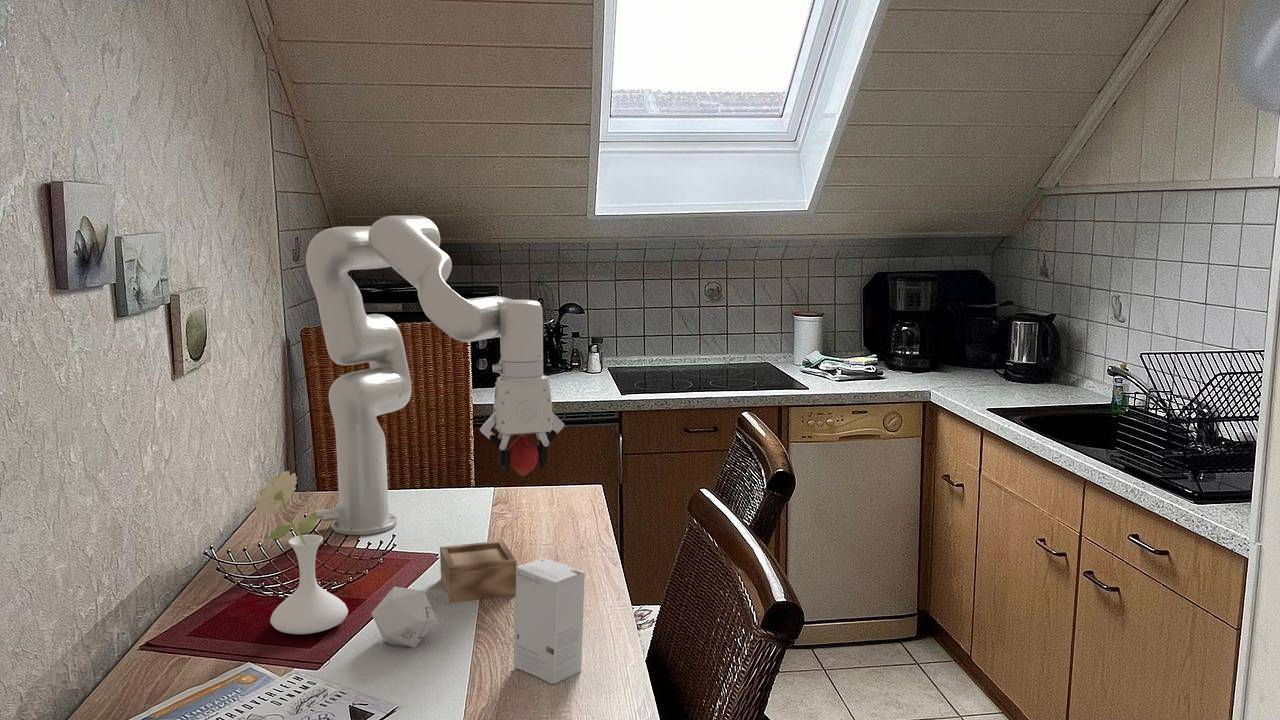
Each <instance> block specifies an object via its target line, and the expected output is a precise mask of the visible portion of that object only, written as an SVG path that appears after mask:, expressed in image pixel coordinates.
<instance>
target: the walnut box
mask: <svg viewBox="0 0 1280 720" xmlns="http://www.w3.org/2000/svg"><path fill="white" fill-rule="evenodd" d="M439 555H440V556H439V557H440V559H439V560H440V580H441V583H442V586H443V587H444V588H443V589H444V591H445V593H446V595H447V598H448V600H449V603H450V604H451V603H458V602H465V601H466V602H467V601H474V600H484V599H489V598H490V599H491V598H499V597H506V596H514V595H515V596H516V567H517V560H516V558H515V556H514V555H513V554H512V552H511V550H510V549H509V547H508V545H507V544H506V542H505V541H504V540H502V539H501V540H494V541H493V540H492V541H483V542H474V543H467V544H466V543H465V544H457V545H448V546H447V545H445V546H439Z"/></svg>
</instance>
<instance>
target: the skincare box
mask: <svg viewBox="0 0 1280 720" xmlns="http://www.w3.org/2000/svg"><path fill="white" fill-rule="evenodd" d="M585 575H586V573H585V572H584V571H581V570H578V569H576V568H574V567H571V566H568V565H567V564H565V563H562V562H557V561H555V560H552V559H548V558H546V557H542V558H539V559H535V560H532V561H531V562H527V563H524V564H521V565H516V594H515V604H514V605H515V606H514V610H515V611H514V637H513V640H514V641H513V667H514V668H515V669H518V671H519V670H520V671H522V672H525V673H527V674H530V675H532V676H534V677H537V678H539V679H541V680H543V681H545V682H546V683H548V684H550V685H555V684H558V683H559V682H562V681H563V680H566V679H569V678H570V677H572V676H574V675H576V674H578V673H580V672H582V656H583V654H582V653H583V630H584V629H583V627H584V625H583V624H584V623H583V622H584V599H585V597H584V596H585V595H584V594H585Z"/></svg>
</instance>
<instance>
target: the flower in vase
mask: <svg viewBox="0 0 1280 720" xmlns="http://www.w3.org/2000/svg"><path fill="white" fill-rule="evenodd" d="M296 475H297V474H296V472H294V473H292V474H290V471H289V470H287V471H282V472H281V473H280V475H279V474H274V475H273V476H272V478H271V479H270V480H269V481H267V484H266V485H265V487H263V488H260V489H259V491H258V494H259V495H260V496H258V497H257V498H255V500H254V503H253V505H252V507H253V508H256V509H255V510H254V514H258V515H259V516H260V515H263V516H267V515H268V514H273V513H275V511H278V510H279V509H280V508H281V507H282V505H283V507H284V509H285V511H286V513H287V516H288V519H289V522H290V524H291V525H290V524H282V525H279V526H278V527H276V528H275V529H274V530H273V531H272V532H271V533H270V535H269V536H268V537H267V541H269V540H279V539H282V538H285V537H286V535H288V534H289V532H290V531H291V530H292V528H293V529H294V531H295V533H296V534H297V536H293V537H292V538H290V539H288V544H289V545H290V546H291V548H292V549H293V550H294V552H295V554H296V557H297V562H298V567H299V569H298V570H299V583H298V586H297V588H296V590H295V591H294V592H292V593H291V594H290V595H288V596H287V598H284V600H283V601H282V602H281V603H280V604H279V605H277V607H276V608H275V609H274V610H273V611H272V613H271V617H270V618H269V619H270V620H269V621H270V624H271V626H272V627H273V628H274V629H275V630H277V631H279V632H281V633H286V634H291V635H310V634H315V633H316V634H317V633H321V632H323V631H324V632H325V631H327V630H330V629H332V628H335V627H336V626H338V625H339V624H341V623H342V622H343V621H345V619H346V617H347V616H348V614H349V609H348V607H347V605H346V603H345V602H343V600H342V599H340V598H339V597H338V596H336V595H334V594H332V593H331V592H329V591H327V590H325V589H324V588H322V587H321V586H320V585H319V584H318V582H317V577H316V556H317V552H318V549H319V547H320V545H321V543H322V542H323V540H324V537H323V536H321V535H318V534H305V533H308V532H310V531H312V530H313V529H315V528H316V526H317V521H318V520H317V515H316V511H315V512H313V513H311V514H310V515H308V516H307V517H305V518H303V519H302V520H300V521H299V522H298V524H297V525H298V526H297V527H298V528H297V527H296V526H295V524H294V522H293V519H292V516H291V513H290V510H289V508H288V506H287V502H288V501H289V499H290V498H291V497H292V495H293V493H294V492H295V491H296V489H297V487H295V486H296V485H297V483H298V482H297V479H298V478H297V476H296ZM302 534H303V535H302Z"/></svg>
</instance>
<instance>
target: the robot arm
mask: <svg viewBox="0 0 1280 720" xmlns="http://www.w3.org/2000/svg"><path fill="white" fill-rule="evenodd" d="M440 246H441V235H440V231H439V228H438V227H437V225H436V224H435V223H434V222H433V221H432V220H430V219H429V218H428V217H426V216H423V215H422V216H421V215H388V216H383V217H382V218H379V219H378V220H376V221H375V222H374V223H373V224H372V225H368V226H365V225H362V226H361V225H359V226H358V225H357V226H356V225H355V226H352V225H351V226H349V225H347V226H346V225H345V226H344V225H343V226H336V227H330V228H326V229H324V230H321V231H319V232H318V233H317V234H316V235H315V236H314V237H312V239H310V242H309V244H308V247H307V251H306V255H305V256H306V257H305V265H306V272H307V276H308V277H309V282H310V283H311V287H312V289H313V292H314V295H315V298H316V301H317V302H316V303H317V306H318V311H319V312H318V313H319V316H320V322H321V328H322V331H323V336H324V341H325V346H326V350H327V353H328V355H329V358H330V359H331V361H332V362H334V363H335V364H336V365H338V366H339V365H340V366H353V365H359V364H365V363H368V365H369V368H366V369H361V370H356V371H352V372H351V371H350V372H347V373H345V374H343V375H341V376H339V377H338V378H336V379H335V380H334V381H333V382H332V384H331V385H330V388H329V391H328V401H329V402H328V403H329V407H330V413H331V415H332V420H333V423H334V424H333V425H334V432H335V445H336V447H335V448H336V460H337V461H336V462H337V465H336V467H337V484H338V485H337V486H338V502H337V503H336V504H337V505H336V506H333V507H332V508H330V509H323V508H322V509H316V510H315V512H316V515H317V521H318V520H322V522H330V521H332V523H331V529H332V530H333V532H336V533H338V534H341V535H346V536H347V535H349V536H365V535H366V536H368V535H374V534H379V533H382V532H385V531H389V530H391V529H392V528H394V527H395V526H396V525H397V524H398V520H397V517H396V515H394V514H392V513H390V512H389V496H388V495H389V491H388V489H389V488H388V487H389V486H388V468H387V467H388V466H387V462H388V461H387V445H386V443H387V442H386V436H385V432H384V430H383V428H382V427H381V425H380V423H379V421H378V419H377V417H378V416H382V415H385V414H388V413H393V412H397V411H399V410H401V409H403V408H404V407H406V406H407V404H408V403H409V401H411V396H412V379H411V375H410V369H409V365H408V360H407V353H406V349H405V345H404V340H403V335H402V332H401V330H400V327H398V324H397V323H396V322H395V321H394V320H393V319H392V318H391V317H389V316H387V315H385V314H379V313H370V314H367V313H366V310H365V307H364V301H363V296H362V293H361V291H360V289H359V286H358V285H357V284H356V282H355V281H354V280H353V279H352V277H351V276H350V275H349V274H348V273H349V272H350V271H356V270H359V271H362V270H373V269H375V270H376V269H377V270H378V269H384V268H385V269H386V268H390V267H391V268H392V269H393V270H394V271H395V272H396V273H397V274H399V275H400V276H401V277H402V278H404V279H405V280H406V281H407V282H408V283H409V284H411V286H413V287H414V288H416V290H417V297H418V301H419V303H420V306H421V308H422V309H421V310H423V312H424V314H425V316H426V317H427V318H428V319H429V320H430V321H431V322H432V323H433V324H434V325H436V326H437V327H438V328H439V329H440V330H441V331H443V333H445V334H446V335H448V336H449V337H451V338H452V339H454V340H456V341H458V342H462V343H472V342H477V341H482V340H488V339H495V338H499V341H500V345H499V346H500V359H499V361H498V363H496V364H492V366H491V367H492V372H493V373H497V374H498V373H499V375H500V376H499V377H498V376H497V377H496V382H495V383H496V384H495V388H494V389H495V390H494V399H493V410H492V411H493V413H492V414H491V415H490V416H489V417H488V419H487V420H486V421H485V422H484V423H483V424H482V426H481V427H480V428H479V431H480V432H481V434H482V435H484V436H485V437H486V438H487V439H488V440H490V441H491V442H492V443H493V444H494V445H495V446H496V447H497V448H498V465H499V467H501V469H502V470H503V471H504V472H505V473H507V472H509V471H510V464H509V450H508V449H509V448H508V443H509V440H510V437H511V436H519V435H522V434H524V435H533V434H536V437H537V440H538V441H537V444H536V446H537V447H538V450H539V455H540V458H539V462H538V464H537V467H539V468H540V469H545V464H546V463H547V462H548V447H549V445H550V443H551V442H552V441H553V440H554V439H555V438H556V436H557V435H558V434H559V433H560V432H561V430H563V429H564V427H565V423H564V422H563V421H562V420H561V419H560V418H559V417H558V416H557V415H556V414H555V413H554V412H553V403H552V394H551V386H550V381H549V377H548V376H546V375H544V334H543V333H544V326H543V325H544V323H543V322H544V321H543V319H544V318H543V317H544V316H543V314H544V313H543V307H542V304H541V303H540V302H539V301H537V300H531V299H512V298H508V297H504V296H500V295H499V296H497V295H494V296H493V295H492V296H484V297H482V296H481V297H473V298H467V299H466V298H464V297H462V296H461V295H460V294H458V292H456V291H455V290H454V289H452V288H451V287H450V286H449V285H448V284H447V283H446V281H447V280H448V278H449V277H450V275H451V272H452V268H453V263H452V259H451V257H450V256H449V255H448V254H447V252H445V251H444V250H442V249H441V248H440ZM492 428H494V429H495V430H496V431H497V432H498V433H499V434H498V436H497V435H496V434H495V433H494V432H493V431H492Z"/></svg>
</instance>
